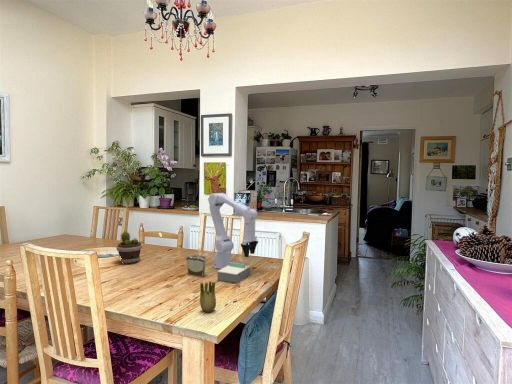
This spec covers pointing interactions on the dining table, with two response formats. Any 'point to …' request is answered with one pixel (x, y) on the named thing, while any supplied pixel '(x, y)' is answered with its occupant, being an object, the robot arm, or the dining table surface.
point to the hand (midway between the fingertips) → (249, 255)
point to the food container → (196, 265)
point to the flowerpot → (129, 249)
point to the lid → (234, 268)
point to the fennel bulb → (207, 297)
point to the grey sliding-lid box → (233, 276)
